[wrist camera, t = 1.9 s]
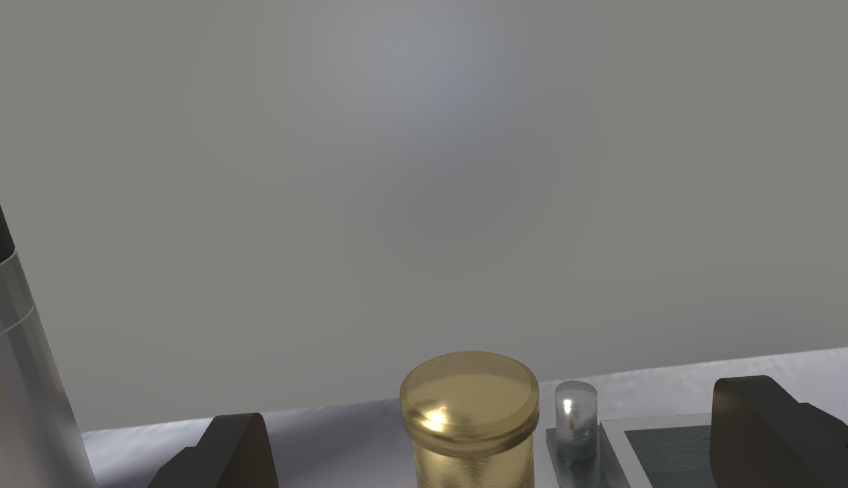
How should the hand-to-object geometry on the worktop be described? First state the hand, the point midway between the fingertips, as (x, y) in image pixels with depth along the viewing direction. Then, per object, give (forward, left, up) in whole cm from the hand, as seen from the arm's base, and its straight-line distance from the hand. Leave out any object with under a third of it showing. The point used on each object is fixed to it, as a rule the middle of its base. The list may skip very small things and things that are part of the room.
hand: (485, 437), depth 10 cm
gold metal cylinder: (0, +11, -18) cm, 21 cm away
